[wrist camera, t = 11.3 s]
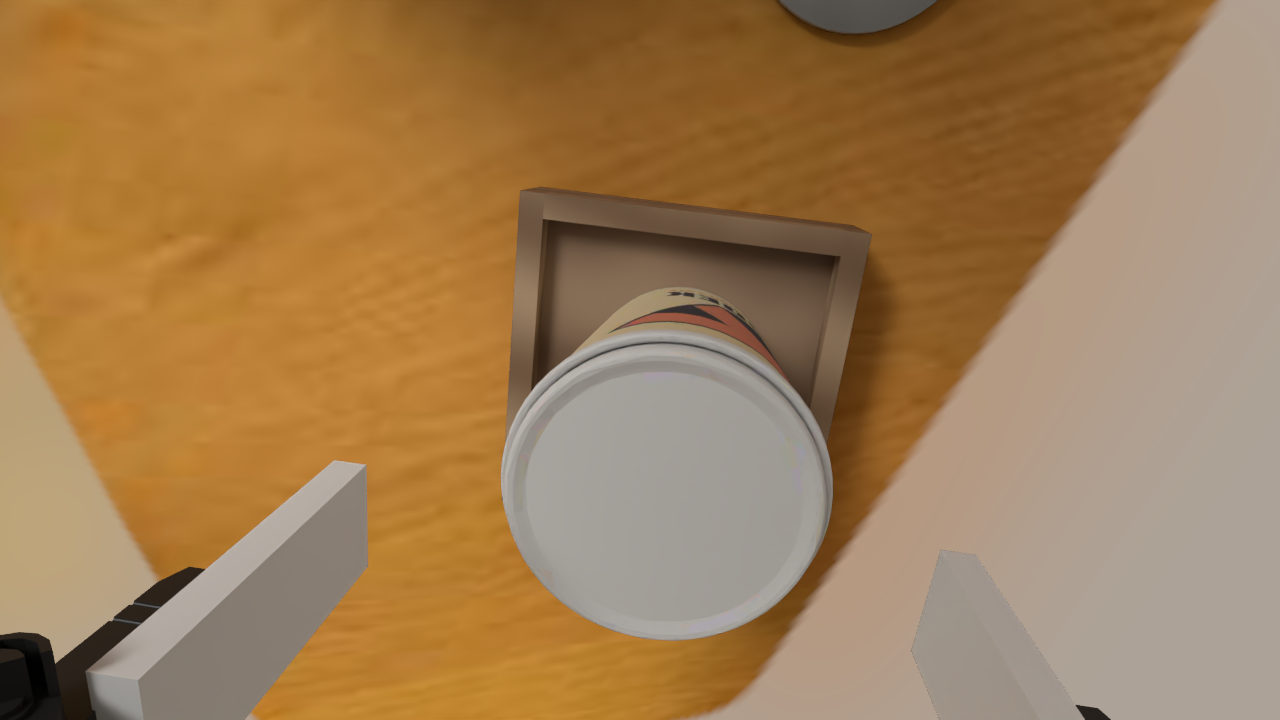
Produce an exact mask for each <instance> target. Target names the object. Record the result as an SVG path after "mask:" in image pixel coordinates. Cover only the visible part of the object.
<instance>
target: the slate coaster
mask: <svg viewBox="0 0 1280 720" xmlns="http://www.w3.org/2000/svg"><path fill="white" fill-rule="evenodd" d="M936 1H937V0H778V2H779V3H780V4H781V5H782V6H783V7H784V8H786V9H787V10H788V11H789V12H790V13H791V14H793V15H794V16H796V17H797V18H798V19H800V20H801V21H803V22H805V23H807V24H809V25H811V26H813V27H815V28H818V29H821V30H824V31H827V32H832V33H838V34H849V35H859V34H869V33H875V32H879V31H883V30H887V29H889V28H892V27H895V26H897V25H900V24H902V23H904V22H906V21H908V20H909V19H911V18H913V17H915V16H917V15H918V14H919V13H921V12H922V11H924V10H925V9H927V8H928V7H929V6H931V5H932V4H934V3H935V2H936Z"/></svg>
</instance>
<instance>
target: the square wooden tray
mask: <svg viewBox="0 0 1280 720" xmlns="http://www.w3.org/2000/svg"><path fill="white" fill-rule="evenodd" d="M871 236H872V234H870V233H868V232H866V231H864V230H862V229H860V228H857V227H855V226H853V225H845V224H837V223H829V222H821V221H813V220H804V219H796V218H788V217H780V216H772V215H764V214H756V213H748V212H740V211H732V210H723V209H715V208H707V207H699V206H691V205H683V204H675V203H667V202H659V201H651V200H643V199H634V198H626V197H618V196H610V195H602V194H594V193H586V192H578V191H570V190H562V189H554V188H545V187H537V188H532V189H526V190H521V191H520V202H519V219H518V236H517V253H516V270H515V287H514V304H513V320H512V337H511V354H510V371H509V388H508V405H507V422H506V439H505V444H506V441H507V437H508V434H509V431H510V428H511V426H512V424H513V421H514V419H515V417H516V415H517V413H518V411H519V409H520V408H521V406H522V404H523V403H524V401H525V399H526V398H527V397H528V395H529V394H530V393H531V391H532V390H533V389H534V388H535V386H536V385H537V384H538V383H539V382H540V381H541V380H542V379H543V378H544V377H545V376H546V375H547V374H548V373H549V372H550V371H551V370H552V369H554V368H555V367H556V366H557V365H559V364H560V363H561V362H562V361H564V360H565V359H566V358H568V357H569V356H571V355H572V354H573V353H574V352H575V351H576V350H577V349H578V348H579V347H580V346H581V345H582V344H583V343H584V342H585V341H586V340H587V339H588V338H589V337H590V336H591V335H592V334H593V333H594V332H595V331H596V330H597V329H598V328H599V327H600V326H601V325H602V324H603V323H604V322H606V321H607V320H608V319H609V318H610V317H611V316H612V315H613V314H614V313H615V312H616V311H617V310H619V309H620V308H621V307H623V306H624V305H625V304H627V303H628V302H630V301H631V300H633V299H635V298H637V297H638V296H640V295H643V294H645V293H648V292H651V291H654V290H657V289H663V288H672V287H687V288H694V289H700V290H703V291H706V292H709V293H712V294H714V295H717V296H719V297H721V298H722V299H724V300H726V301H728V302H729V303H731V304H732V305H733V306H734V307H736V308H737V309H738V310H740V311H741V312H742V313H743V314H744V315H745V316H746V317H747V318H748V319H749V321H750V322H751V323H752V325H753V326H754V327H755V328H756V330H757V331H758V333H759V334H760V336H761V337H762V339H763V340H764V342H765V344H766V345H767V347H768V348H769V350H770V352H771V353H772V355H773V356H774V358H775V360H776V361H777V363H778V364H779V366H780V368H781V369H782V371H783V373H784V374H785V376H786V378H787V379H788V381H789V383H790V384H791V386H792V387H793V388H794V389H795V390H796V392H797V393H798V394H799V395H800V397H801V398H802V399H803V401H804V402H805V404H806V405H807V406H808V408H809V409H810V411H811V412H812V414H813V416H814V418H815V420H816V422H817V423H818V425H819V427H820V430H821V432H822V435H823V437H824V440H825V442H826V446H827V441H828V437H829V432H830V427H831V423H832V418H833V413H834V409H835V404H836V399H837V395H838V390H839V385H840V381H841V376H842V371H843V367H844V362H845V357H846V353H847V348H848V343H849V339H850V334H851V329H852V325H853V320H854V315H855V311H856V306H857V301H858V297H859V292H860V287H861V283H862V278H863V273H864V269H865V264H866V259H867V255H868V250H869V245H870V241H871ZM502 500H503V498H502Z"/></svg>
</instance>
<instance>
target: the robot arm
mask: <svg viewBox="0 0 1280 720" xmlns="http://www.w3.org/2000/svg"><path fill="white" fill-rule="evenodd" d="M367 567H368V540H367V475H366V465H363V464H356V463H349V462H343V461H336V460H334V461H333V462H332V463H331V464H329V465H328V466H327V467H326V468H325V469H324V470H322V471H321V472H320V473H319V474H318V475H316V476H315V477H314V478H313V479H312V480H311V481H309V482H308V483H307V484H306V485H305V486H303V487H302V488H301V489H300V490H299V491H298V492H296V493H295V494H294V495H293V496H292V497H291V498H289V499H288V500H287V501H286V502H285V503H283V504H282V505H281V506H280V507H279V508H278V509H276V510H275V511H274V512H273V513H272V514H270V515H269V516H268V517H267V518H266V519H265V520H263V521H262V522H261V523H260V524H259V525H257V526H256V527H255V528H254V529H253V530H252V531H250V532H249V533H248V534H247V535H246V536H245V537H243V538H242V539H241V540H240V541H239V542H237V543H236V544H235V545H234V546H233V547H232V548H230V549H229V550H228V551H227V552H226V553H224V554H223V555H222V556H221V557H220V558H219V559H217V560H216V561H215V562H214V563H213V564H211V565H210V566H209V567H208V568H207V569H201V568H194V567H188V568H186V569H184V570H182V571H180V572H177V573H175V574H173V575H171V576H169V577H167V578H165V579H163V580H161V581H159V582H157V583H156V584H155V585H153V586H152V587H151V588H150V589H148V590H147V591H146V592H145V593H144V594H142V595H141V596H140V597H139V598H137V599H136V600H135V601H134V604H133V605H128V606H127V607H126V608H125V609H123V610H122V611H121V612H120V613H118V614H117V615H116V616H115V617H114V620H113V621H108V622H107V623H106V624H105V625H103V626H102V627H101V628H100V629H98V630H97V631H96V632H95V633H93V634H92V635H91V636H90V637H88V638H87V639H86V640H84V641H83V642H82V643H81V644H79V645H78V646H77V647H76V648H74V649H73V650H72V651H71V652H69V653H68V654H67V655H66V656H64V657H63V658H62V659H61V660H59V661H58V662H57V663H56V664H55V661H54V656H53V651H52V648H51V644H50V640H49V639H47V638H45V637H43V636H41V635H39V634H36V633H21V632H18V633H12V634H5V635H0V720H245V719H246V717H247V716H248V715H249V714H250V712H251V711H252V710H253V709H254V707H255V706H256V705H257V704H258V702H259V701H260V700H261V699H262V698H263V696H264V695H265V694H266V693H267V691H268V690H269V689H270V688H271V686H272V685H273V684H274V683H275V681H276V680H277V679H278V678H279V676H280V675H281V674H282V673H283V671H284V670H285V669H286V668H287V666H288V665H289V664H290V663H291V661H292V660H293V659H294V658H295V656H296V655H297V654H298V653H299V651H300V650H301V649H302V648H303V646H304V645H305V644H306V643H307V641H308V640H309V639H310V638H311V636H312V635H313V634H314V633H315V631H316V630H317V629H318V628H319V626H320V625H321V624H322V623H323V621H324V620H325V619H326V618H327V617H328V615H329V614H330V613H331V612H332V610H333V609H334V608H335V607H336V605H337V604H338V603H339V602H340V600H341V599H342V598H343V597H344V595H345V594H346V593H347V592H348V590H349V589H350V588H351V587H352V585H353V584H354V583H355V582H356V580H357V579H358V578H359V577H360V575H361V574H362V573H363V572H364V570H365V569H366V568H367ZM911 651H912V654H913V656H914V659H915V661H916V664H917V666H918V668H919V671H920V673H921V676H922V678H923V681H924V683H925V685H926V688H927V691H928V693H929V695H930V698H931V700H932V703H933V705H934V708H935V710H936V713H937V715H938V718H939V720H1110V719H1109V718H1108V717H1107V716H1106V715H1105V714H1104V713H1102V711H1100V710H1099V709H1098V708H1093V707H1086V706H1080V705H1075V704H1074V702H1073V701H1072V699H1071V698H1070V696H1069V695H1068V693H1067V692H1066V690H1065V689H1064V687H1063V686H1062V684H1061V683H1060V681H1059V680H1058V678H1057V677H1056V675H1055V674H1054V672H1053V671H1052V669H1051V668H1050V666H1049V665H1048V663H1047V662H1046V660H1045V659H1044V657H1043V656H1042V654H1041V653H1040V651H1039V650H1038V648H1037V647H1036V646H1035V644H1034V642H1033V641H1032V639H1031V637H1030V636H1029V634H1028V633H1027V631H1026V630H1025V628H1024V627H1023V625H1022V624H1021V622H1020V621H1019V620H1018V618H1017V616H1016V615H1015V613H1014V612H1013V610H1012V609H1011V607H1010V606H1009V604H1008V603H1007V601H1006V600H1005V598H1004V597H1003V595H1002V594H1001V593H1000V591H999V589H998V588H997V586H996V585H995V583H994V582H993V580H992V579H991V577H990V576H989V574H988V572H987V571H986V569H985V568H984V566H983V565H982V563H981V562H980V561H979V559H978V557H977V556H976V555H973V554H966V553H959V552H952V551H946V550H940V554H939V557H938V561H937V564H936V568H935V571H934V575H933V578H932V582H931V585H930V588H929V592H928V595H927V599H926V602H925V606H924V609H923V612H922V616H921V619H920V623H919V626H918V629H917V633H916V636H915V640H914V643H913V647H912V650H911Z"/></svg>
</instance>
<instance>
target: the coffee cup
mask: <svg viewBox="0 0 1280 720" xmlns="http://www.w3.org/2000/svg"><path fill="white" fill-rule="evenodd" d="M501 488H502V498H503V503H504V509H505V512H506V516H507V519H508V523H509V526H510V529H511V532H512V535H513V537H514V540H515V542H516V544H517V547H518V549H519V551H520V553H521V555H522V556H523V558H524V560H525V562H526V563H527V565H528V566H529V568H530V569H531V571H532V572H533V573H534V575H535V576H536V577H537V578H538V580H539V581H540V582H541V583H542V584H543V585H544V587H546V588H547V589H548V590H549V591H550V592H551V593H552V594H553V595H554V596H555V597H556V598H557V599H558V600H560V601H561V602H562V603H564V604H565V605H566V606H567V607H569V608H570V609H572V610H573V611H575V612H576V613H578V614H579V615H581V616H582V617H584V618H586V619H588V620H590V621H592V622H594V623H596V624H598V625H601V626H603V627H605V628H608V629H610V630H612V631H616V632H619V633H623V634H627V635H631V636H635V637H639V638H644V639H655V640H672V641H677V640H689V639H697V638H704V637H709V636H713V635H717V634H720V633H724V632H727V631H729V630H732V629H735V628H738V627H740V626H742V625H744V624H746V623H748V622H750V621H752V620H754V619H755V618H757V617H759V616H760V615H762V614H764V613H765V612H767V611H768V610H769V609H770V608H772V607H773V606H774V605H776V604H777V603H778V602H779V601H780V600H782V599H783V598H784V597H785V596H786V595H787V594H788V593H789V592H790V590H791V589H792V588H793V587H794V586H795V585H796V584H797V582H798V581H799V580H800V579H801V577H802V576H803V574H804V573H805V571H806V570H807V568H808V567H809V565H810V564H811V562H812V561H813V559H814V557H815V556H816V554H817V552H818V550H819V548H820V546H821V544H822V542H823V539H824V536H825V533H826V530H827V528H828V524H829V519H830V515H831V510H832V500H833V477H832V469H831V463H830V457H829V453H828V450H827V446H826V442H825V440H824V437H823V435H822V432H821V430H820V427H819V425H818V423H817V422H816V420H815V418H814V416H813V414H812V412H811V411H810V409H809V408H808V406H807V405H806V404H805V402H804V401H803V399H802V398H801V397H800V395H799V394H798V393H797V392H796V390H795V389H794V388H793V387H792V386H791V384H790V383H789V381H788V379H787V378H786V376H785V374H784V373H783V371H782V369H781V368H780V366H779V364H778V363H777V361H776V360H775V358H774V356H773V355H772V353H771V352H770V350H769V348H768V347H767V345H766V344H765V342H764V340H763V339H762V337H761V336H760V334H759V333H758V331H757V330H756V328H755V327H754V326H753V325H752V323H751V322H750V321H749V319H748V318H747V317H746V316H745V315H744V314H743V313H742V312H741V311H740V310H738V309H737V308H736V307H734V306H733V305H732V304H731V303H729V302H728V301H726V300H724V299H722V298H721V297H719V296H717V295H714V294H712V293H709V292H706V291H703V290H700V289H694V288H687V287H672V288H663V289H657V290H654V291H651V292H648V293H645V294H643V295H640V296H638V297H637V298H635V299H633V300H631V301H630V302H628V303H627V304H625V305H624V306H623V307H621V308H620V309H619V310H617V311H616V312H615V313H614V314H613V315H612V316H611V317H610V318H609V319H608V320H607V321H606V322H604V323H603V324H602V325H601V326H600V327H599V328H598V329H597V330H596V331H595V332H594V333H593V334H592V335H591V336H590V337H589V338H588V339H587V340H586V341H585V342H584V343H583V344H582V345H581V346H580V347H579V348H578V349H577V350H576V351H575V352H574V353H573V354H572V355H571V356H569V357H568V358H566V359H565V360H564V361H562V362H561V363H560V364H559V365H557V366H556V367H555V368H554V369H552V370H551V371H550V372H549V373H548V374H547V375H546V376H545V377H544V378H543V379H542V380H541V381H540V382H539V383H538V384H537V385H536V386H535V388H534V389H533V390H532V391H531V393H530V394H529V395H528V397H527V398H526V399H525V401H524V403H523V404H522V406H521V408H520V409H519V411H518V413H517V415H516V417H515V419H514V421H513V424H512V426H511V428H510V431H509V434H508V437H507V441H506V444H505V447H504V453H503V459H502V468H501Z"/></svg>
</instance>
